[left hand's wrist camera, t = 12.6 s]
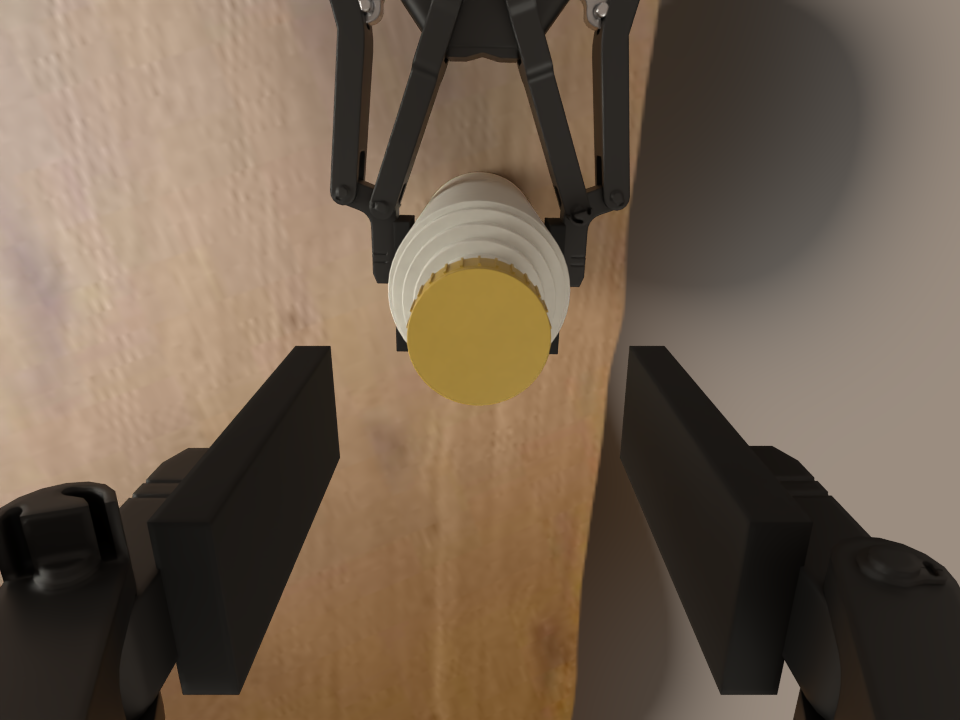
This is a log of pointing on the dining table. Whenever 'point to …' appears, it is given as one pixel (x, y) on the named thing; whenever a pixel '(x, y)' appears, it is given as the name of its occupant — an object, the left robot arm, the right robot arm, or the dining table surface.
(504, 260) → the bottle
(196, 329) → the dining table surface
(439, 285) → the cap
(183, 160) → the dining table surface
